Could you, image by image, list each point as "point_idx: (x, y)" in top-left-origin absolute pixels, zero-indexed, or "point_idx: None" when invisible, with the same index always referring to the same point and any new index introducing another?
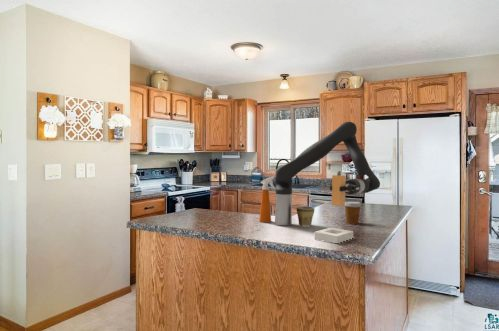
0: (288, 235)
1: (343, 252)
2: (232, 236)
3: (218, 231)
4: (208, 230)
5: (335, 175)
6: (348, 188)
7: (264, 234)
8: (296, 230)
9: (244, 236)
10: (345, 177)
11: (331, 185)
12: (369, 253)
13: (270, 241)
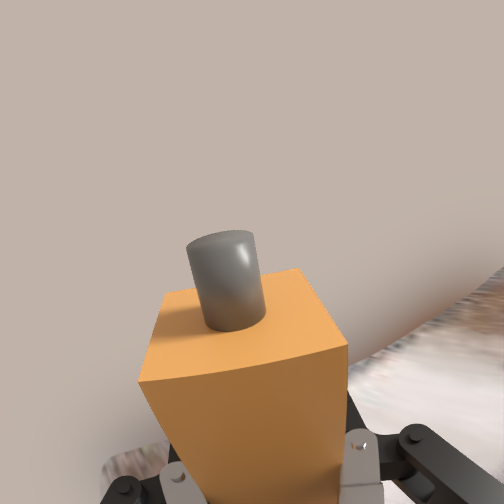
0: (428, 426)
1: (166, 448)
2: (444, 316)
3: (492, 303)
4: (500, 292)
5: (266, 285)
6: (152, 486)
7: (456, 372)
8: (496, 471)
9: (441, 333)
10: (152, 408)
11: (414, 430)
12: (106, 483)
13: (374, 365)
